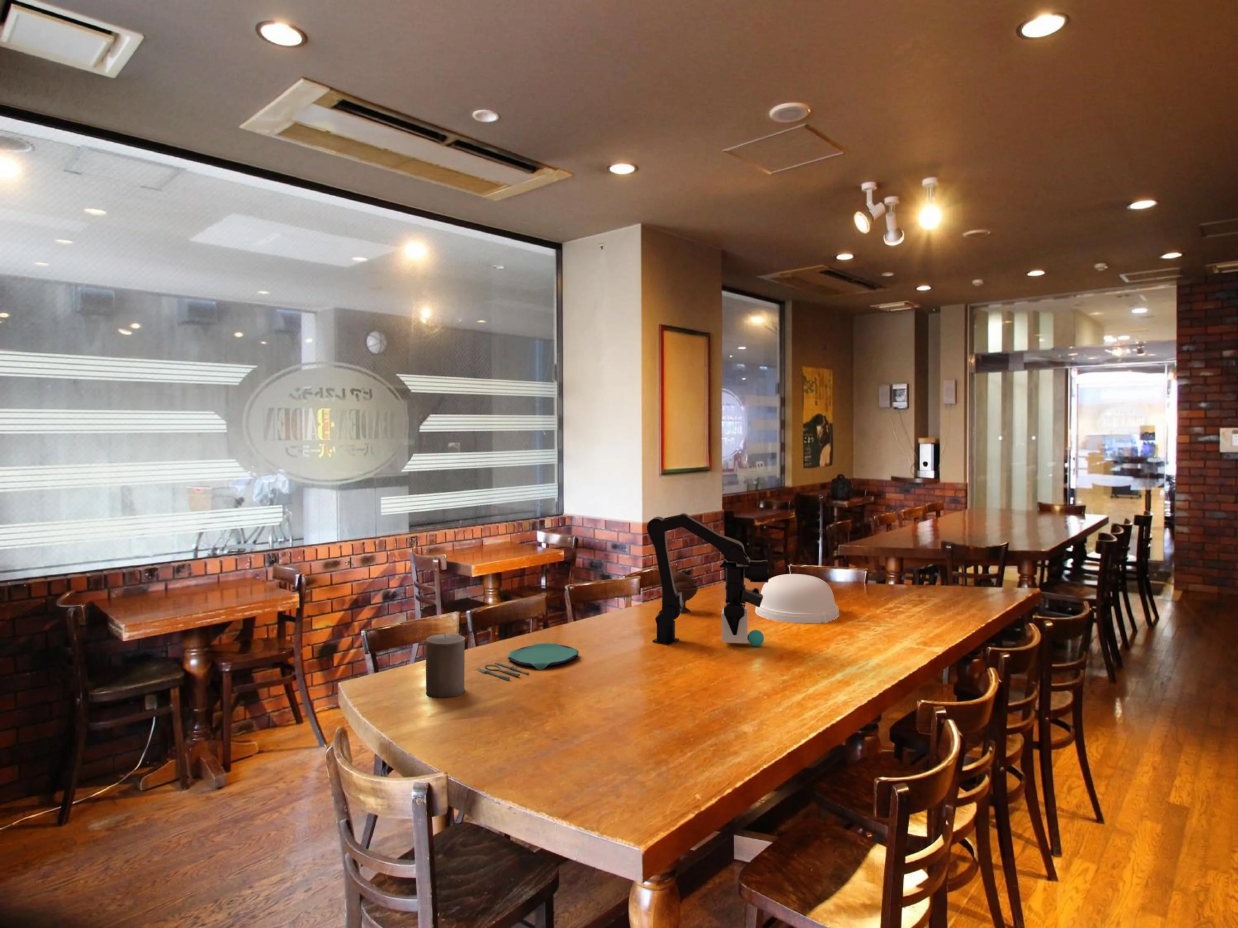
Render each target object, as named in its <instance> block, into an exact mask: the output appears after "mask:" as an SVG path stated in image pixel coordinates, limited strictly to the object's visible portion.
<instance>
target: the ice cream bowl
mask: <svg viewBox="0 0 1238 928" xmlns="http://www.w3.org/2000/svg"><path fill="white" fill-rule="evenodd" d="M672 575H673V580H674V586H675V589H676V591H677V593H679V592H682V601H683V603H684V605H683V607H682V611H681V613H680V614H690V613H691V609H689V608H688V607H687V606H686V603H687V602H688V601H690V600H691V599H693V598H694V596H695V595H697V592H698V591H699V586H698V585H696V584H695V580H694V579H693V578H692V577H691V576H690V575H688V574H686V572H684V571H676V572H674V573H672Z"/></svg>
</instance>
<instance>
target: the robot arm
mask: <svg viewBox="0 0 1238 928" xmlns="http://www.w3.org/2000/svg"><path fill="white" fill-rule="evenodd" d="M679 528H683V529H685V530H686V531H689V532H690V533H692V534H693V535H695V536H696V537H698V538H700V539H702V540H704V541H705V542H707V543H709V544H710V545H712V546H713V547H714V548H716V549H717V550H718V552H720V553H721V554H722V555H723V556H724V557H725V558H724V559H723V561H722V562H721V563H719V565H718V566H719V568H725V587H724V588H725V600H724V601H725V604H724V606H723V608H724V615H725V617H726V619H727V622H728V624H729V626H730V629H731V631H732V634H733V635H737V630H738V625H739V620H740V619H741V618H742V617H744V615H745V609H746V604H747V603H748V604H750V605H753V606H754V607H755V608H756V607H760V605H761V602H762V599H763V595H762V594H761V593H760V589H759V588H757V587H754V588H752V589H747V588H746V584H745V576H746V579H747V580H748V581H749V583H764V584H765V583H768V580H769V566H768V565H769V564H768V562H769V561H768V560H767V559H764V560H762V559H761V560H752V559H751V558H750V557H749V556H748V555H747V553H746V552H745V547H744V544H743V543H742V542H741V541H740V540H737V539H735V538H732V537H729V536H725V535H722V534H720V533H718V532H716V531H714V530H713V529H711V528H710V527H708V526H706V525H704V524H703V523H701V522H700V521H698V520H697V519H695V518H693V517H691V516H690V515H689V514H688V513H685V512H682V513H680V514H676V515H672V516H667V517H661V516H654V517H653V518H651V520H650V519H649V521H648V522H647V524H646V530H647V534H648V536H649V539H650V542H651V544H652V545H653V547H654V553H655V558H656V563H657V567H658V574H659V579H660V584H661V585H660V586H661V590H662V591H661V592H662V593H661V595H662V596H661V609H660V610H659V611H658V613H657V615H656V617H655V618H654V620H655V624H656V638H655V639H653V640H652V643H656V644H657V643H658V644H661V645H669V646H670V645H673V644H675V643H677V642H679V641H680V638H677V637H676V619H678V618H679V616H680V615H681V614H682V613H681V611H682V607H683V605H684V603H683V601H682V592H679V593H677V591H676V589H675V586H674V580H673V569H672V565H671V559H670V555H669V548H668V536H669V535H668V532H669V531H673V530H676V529H679ZM726 558H727V559H728V560H729V561H728V560H727V559H726ZM745 569H746V575H745Z"/></svg>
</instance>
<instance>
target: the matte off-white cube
mask: <svg viewBox="0 0 1238 928" xmlns="http://www.w3.org/2000/svg"><path fill="white" fill-rule="evenodd" d="M748 613H749V611H748V608H745V615H744V617H742V618H741V619H740V620H739V625H738V630H737V635H733V634H732V631H731V629H730V626H729V624H728V622H727V619H726V617H725V615H724V607H722V610H721V642H722V643H733V644H734V643H735V644H748V634H749V632H748V631H749V625H748V624H749V622H748V621H749V620H748V619H749V618H748V616H749V615H748Z"/></svg>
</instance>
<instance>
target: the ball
mask: <svg viewBox="0 0 1238 928" xmlns="http://www.w3.org/2000/svg"><path fill="white" fill-rule="evenodd" d="M764 641H765V636H764V634H763V632H762V631H760V630H758V629H753V630H751V631H749V632H748V641H747V643H748V644H749V645H751V646H753V647H760V646H761V645H763V643H764Z"/></svg>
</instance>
